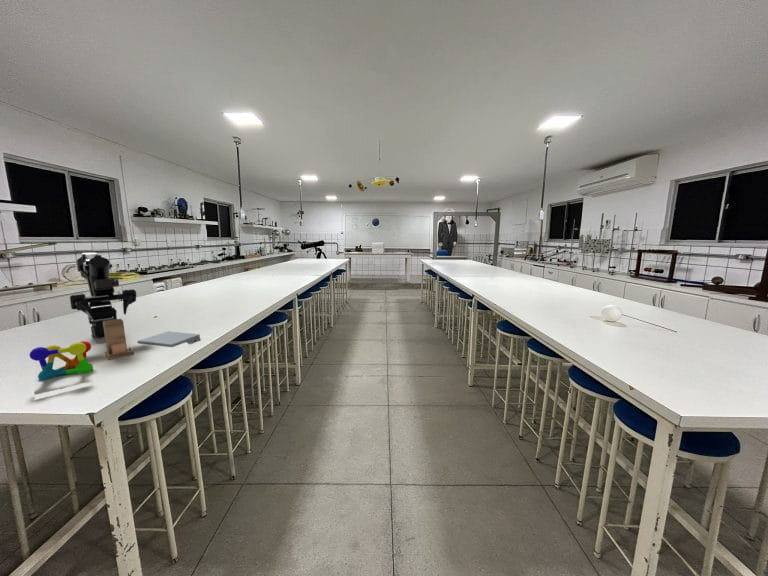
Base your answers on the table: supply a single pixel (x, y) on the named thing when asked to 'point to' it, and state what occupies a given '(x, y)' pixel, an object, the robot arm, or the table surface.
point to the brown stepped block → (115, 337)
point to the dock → (170, 338)
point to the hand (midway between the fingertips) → (109, 316)
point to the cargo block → (118, 348)
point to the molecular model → (55, 351)
